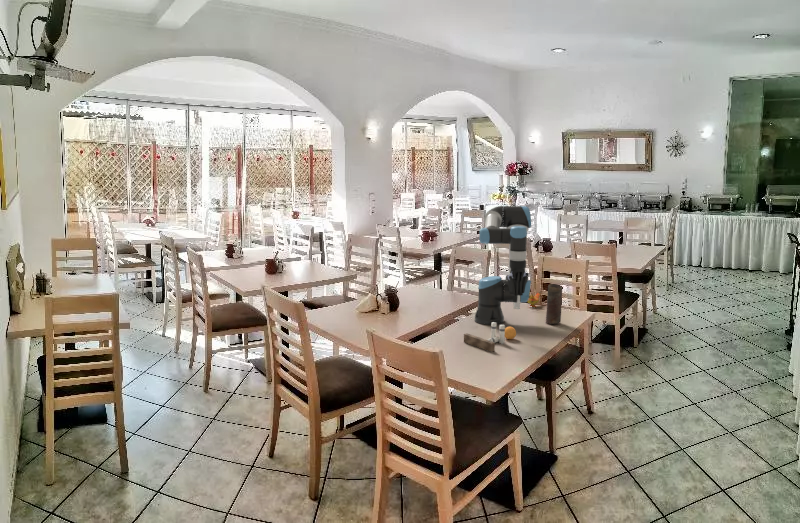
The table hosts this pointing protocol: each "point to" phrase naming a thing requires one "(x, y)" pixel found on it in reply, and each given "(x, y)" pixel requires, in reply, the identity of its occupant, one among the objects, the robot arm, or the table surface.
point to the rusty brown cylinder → (554, 304)
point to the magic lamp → (534, 299)
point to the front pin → (494, 339)
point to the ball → (510, 332)
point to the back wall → (479, 342)
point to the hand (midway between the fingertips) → (516, 308)
